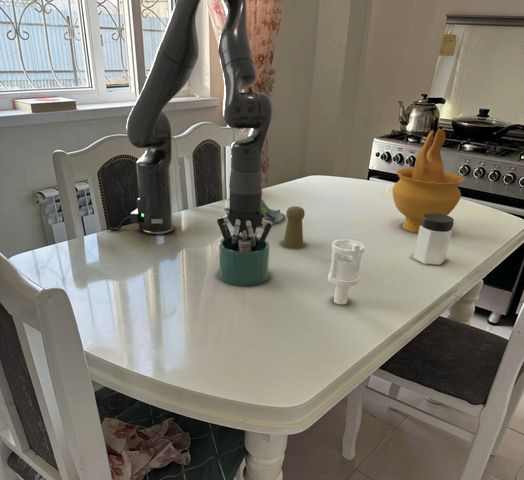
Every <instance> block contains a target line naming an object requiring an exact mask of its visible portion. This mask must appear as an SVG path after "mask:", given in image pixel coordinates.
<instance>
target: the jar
mask: <svg viewBox="0 0 524 480" xmlns="http://www.w3.org/2000/svg"><path fill="white" fill-rule="evenodd" d="M454 223H455V219H454V218H453V217H452V216H450V215H443V214H436V213H429V214H425V215H424V216H423V220H422V224H421V226H420V228H419V233H417V238H416V243H415V246H414V252H413V255H412V256H413V257H412V258H413V259H414V260H416V261H418V262H420V263H421V264H424V265H437V266H440V265H441V264H442V263H444V261H446V258H447V254H448V250H449V246H450V243H451V239H452V234H453V230H454Z"/></svg>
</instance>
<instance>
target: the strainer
mask: <svg viewBox="0 0 524 480" xmlns="http://www.w3.org/2000/svg"><path fill="white" fill-rule="evenodd" d="M346 245H347V246H351V249H345V248H341V247H339V246H346ZM331 251H332V253H331V260H330V269H329V272H328V273H327V281H328V282H329V283H331V284H333V285H335V290H334V296H333V297H334V298H333V302H334V304H337V305H346V304H348V297H349V291H350V287H353V286H354V287H355V286H357V285H358V284H359V283H360V279H361V276H360V274H359V272H360V266H361V260H362V254H364V252H365V244H363V242H360V241H358V240H355V239H348V238H343V239H342V238H341V239H336V240H335V239H334V240H333V241H332V242H331Z"/></svg>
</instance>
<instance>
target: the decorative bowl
mask: <svg viewBox="0 0 524 480" xmlns="http://www.w3.org/2000/svg"><path fill="white" fill-rule="evenodd" d="M434 133H435V135H434ZM445 140H446V132H445V131H444V130H443V129H441V128H439V129H438V130H437V131H436V132H435V131H434V130H433V129H432V130H430V131H429V133H428V134H427V136H426V138H425V141H424V144H423V146H422V147H421V148H420V150H419V152H418V154H417V156H416V159H415V162H414V167H408V168H401V169H397V171H396V174H397V176H398V178H399V180H397V182H396V183H394V185H393V186H392V191H391V193H392V198H393V202H394V205H395V207H396V209H397V210H398V212H399V213H400V214H402V215H403V216H404V217H405V222H404V223H403V224H402V228H403V230H406V231H408V232H411V233H416V234H418V233H419V228H420V226H421V224H422V220H423V216H424V215H425V214H429V213H436V214H443V215H447V216H449V214H451V212H453V210H454V209H455V208H456V207H457V205H458V204H459V202H460V200H461V198H462V197H461V196H462V193H461V190H460V189H459V187H458V186H459V185H460V184H462V182H464V180H465V178H464V177H463V176H461V175H460V174H457V173H454V172H451V171H446V170H444V163H443V158H442V154H441V150H442V147H443V145H444V143H445Z"/></svg>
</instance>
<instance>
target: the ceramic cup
mask: <svg viewBox="0 0 524 480" xmlns="http://www.w3.org/2000/svg"><path fill="white" fill-rule="evenodd" d="M260 238H261V236H260V237H259V236H257V239H260ZM218 244H219V245H218V246H219V247H218V248H219V249H218V250H219V278H220V279H221V280H222V281H223V282H225V283H227V284H230V285H232V286H233V285H234V286H240V287H247V286H248V287H249V286H256V285H260V284H263V283H265V282H266V281H267V280H268V277H269V267H270V266H269V263H270V242H269V241H268V240H267V239H265V241H264V243H263V245H261V246H260V245H259V246H257V251H253V252H239V251H233V250H232V244H231V243H230V242H226V241H225V240H224V238H222V239H221V240H219V243H218Z"/></svg>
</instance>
